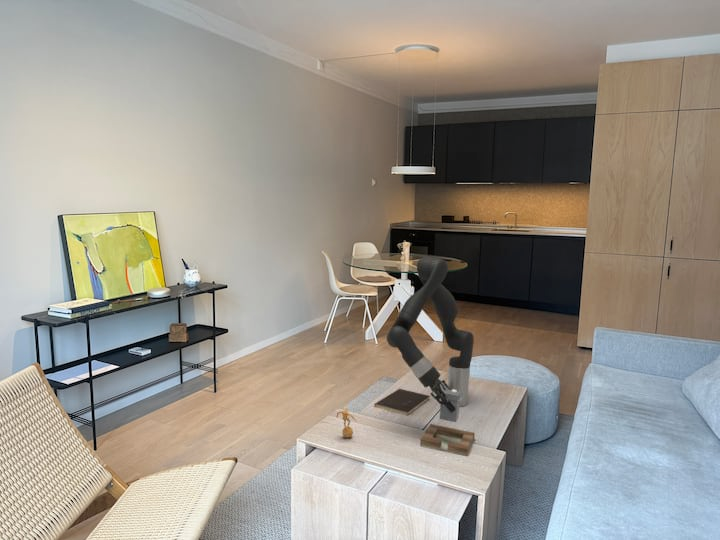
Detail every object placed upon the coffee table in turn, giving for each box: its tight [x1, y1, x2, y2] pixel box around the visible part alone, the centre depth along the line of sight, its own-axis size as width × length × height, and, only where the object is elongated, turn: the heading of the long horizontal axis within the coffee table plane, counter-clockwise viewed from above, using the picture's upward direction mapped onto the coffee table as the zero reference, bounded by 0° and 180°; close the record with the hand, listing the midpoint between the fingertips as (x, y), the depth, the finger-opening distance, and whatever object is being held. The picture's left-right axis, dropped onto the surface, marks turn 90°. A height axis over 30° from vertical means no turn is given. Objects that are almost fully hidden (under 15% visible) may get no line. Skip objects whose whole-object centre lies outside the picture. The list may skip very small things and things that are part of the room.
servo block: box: [439, 389, 463, 423], centre depth 188 cm, size 4×8×11 cm, turn 68°
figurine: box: [336, 407, 357, 438], centre depth 189 cm, size 8×6×12 cm
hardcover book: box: [374, 388, 431, 416], centre depth 227 cm, size 16×23×2 cm
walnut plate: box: [419, 423, 476, 457], centre depth 190 cm, size 15×17×3 cm
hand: (454, 408), depth 188 cm, fingers closed on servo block, 4 cm apart
